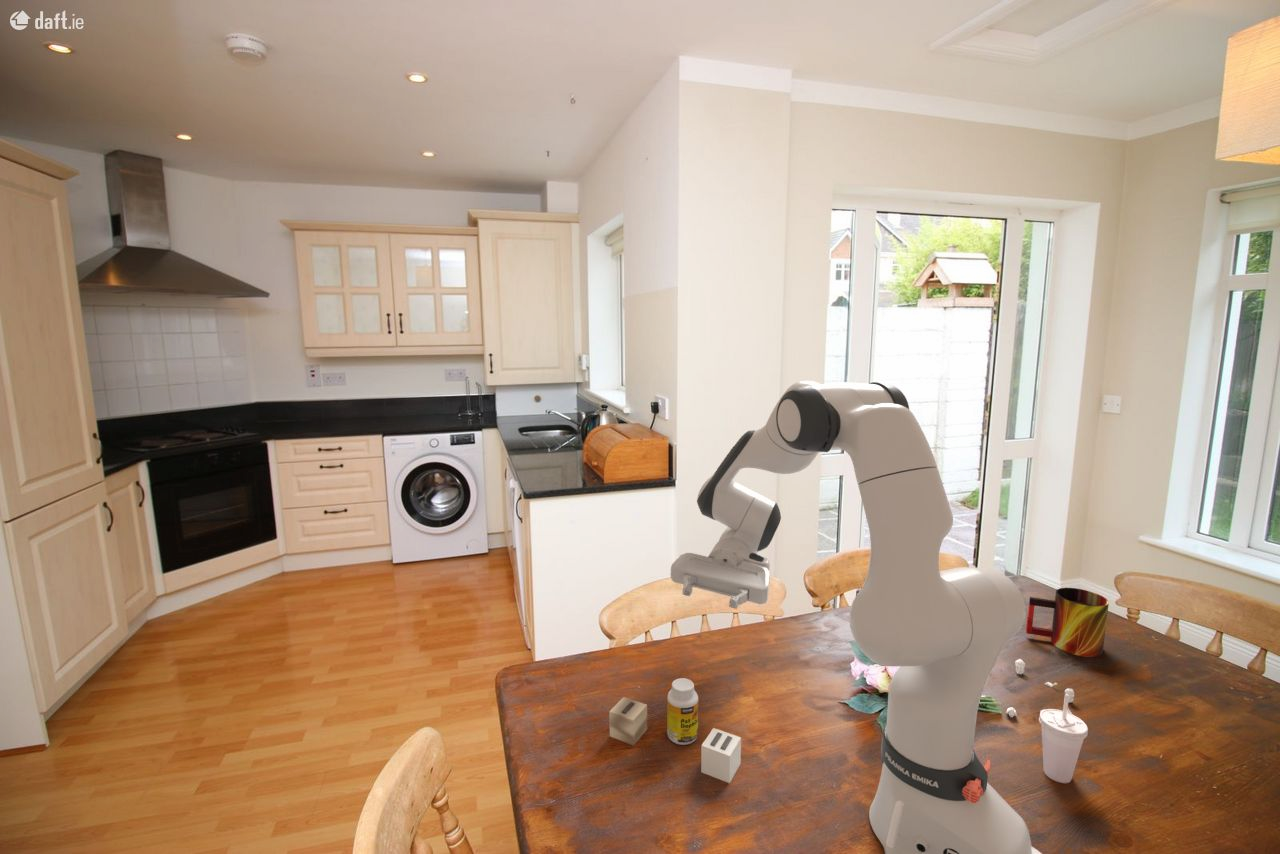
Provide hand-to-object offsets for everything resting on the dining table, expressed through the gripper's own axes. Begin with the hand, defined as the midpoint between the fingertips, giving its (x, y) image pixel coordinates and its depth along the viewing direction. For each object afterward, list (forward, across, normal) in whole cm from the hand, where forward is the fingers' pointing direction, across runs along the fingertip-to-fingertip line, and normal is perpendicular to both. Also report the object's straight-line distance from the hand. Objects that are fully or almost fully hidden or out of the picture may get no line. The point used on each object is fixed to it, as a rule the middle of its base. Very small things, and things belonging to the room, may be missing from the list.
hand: (709, 598), depth 113 cm
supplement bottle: (+15, +1, +20) cm, 25 cm away
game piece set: (-23, +58, +20) cm, 65 cm away
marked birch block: (+18, -9, +20) cm, 28 cm away
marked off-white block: (+20, +9, +18) cm, 28 cm away
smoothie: (0, +60, +16) cm, 62 cm away
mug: (-48, +72, +22) cm, 89 cm away
